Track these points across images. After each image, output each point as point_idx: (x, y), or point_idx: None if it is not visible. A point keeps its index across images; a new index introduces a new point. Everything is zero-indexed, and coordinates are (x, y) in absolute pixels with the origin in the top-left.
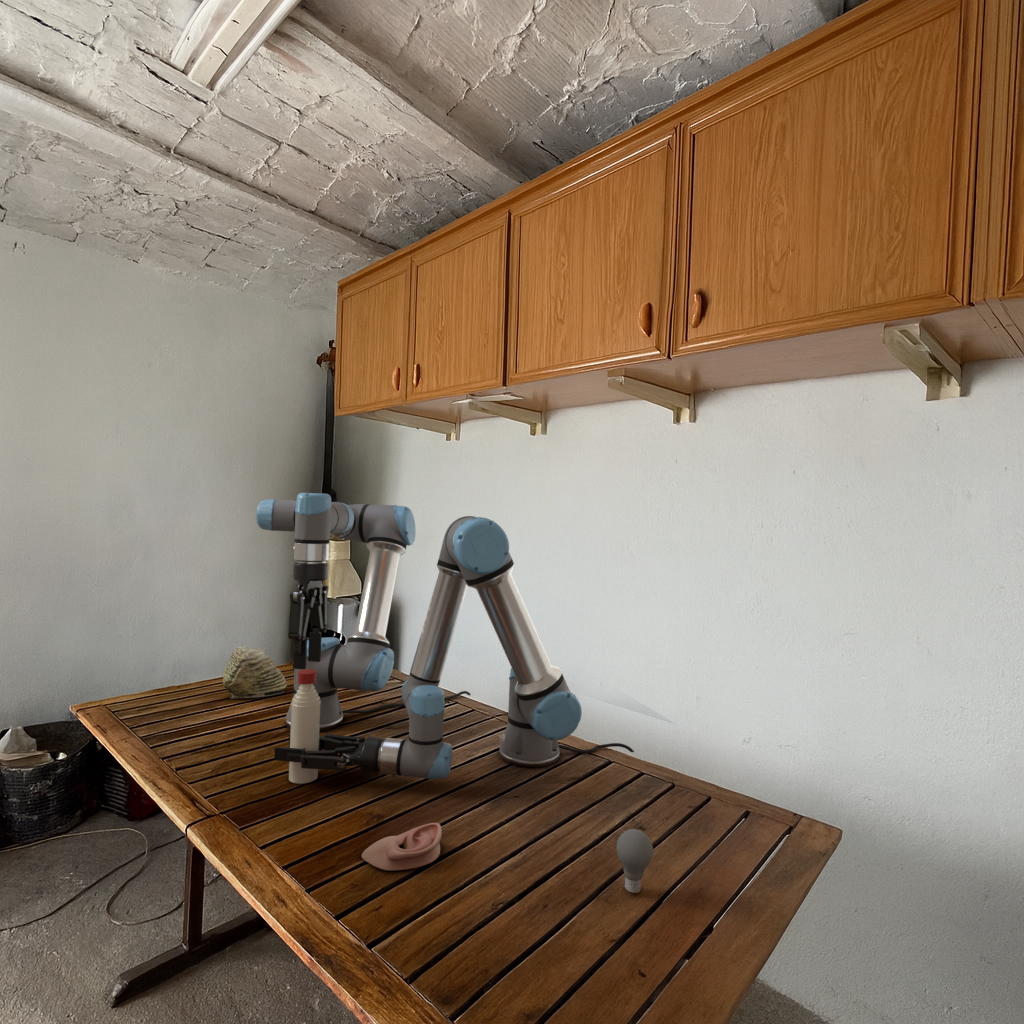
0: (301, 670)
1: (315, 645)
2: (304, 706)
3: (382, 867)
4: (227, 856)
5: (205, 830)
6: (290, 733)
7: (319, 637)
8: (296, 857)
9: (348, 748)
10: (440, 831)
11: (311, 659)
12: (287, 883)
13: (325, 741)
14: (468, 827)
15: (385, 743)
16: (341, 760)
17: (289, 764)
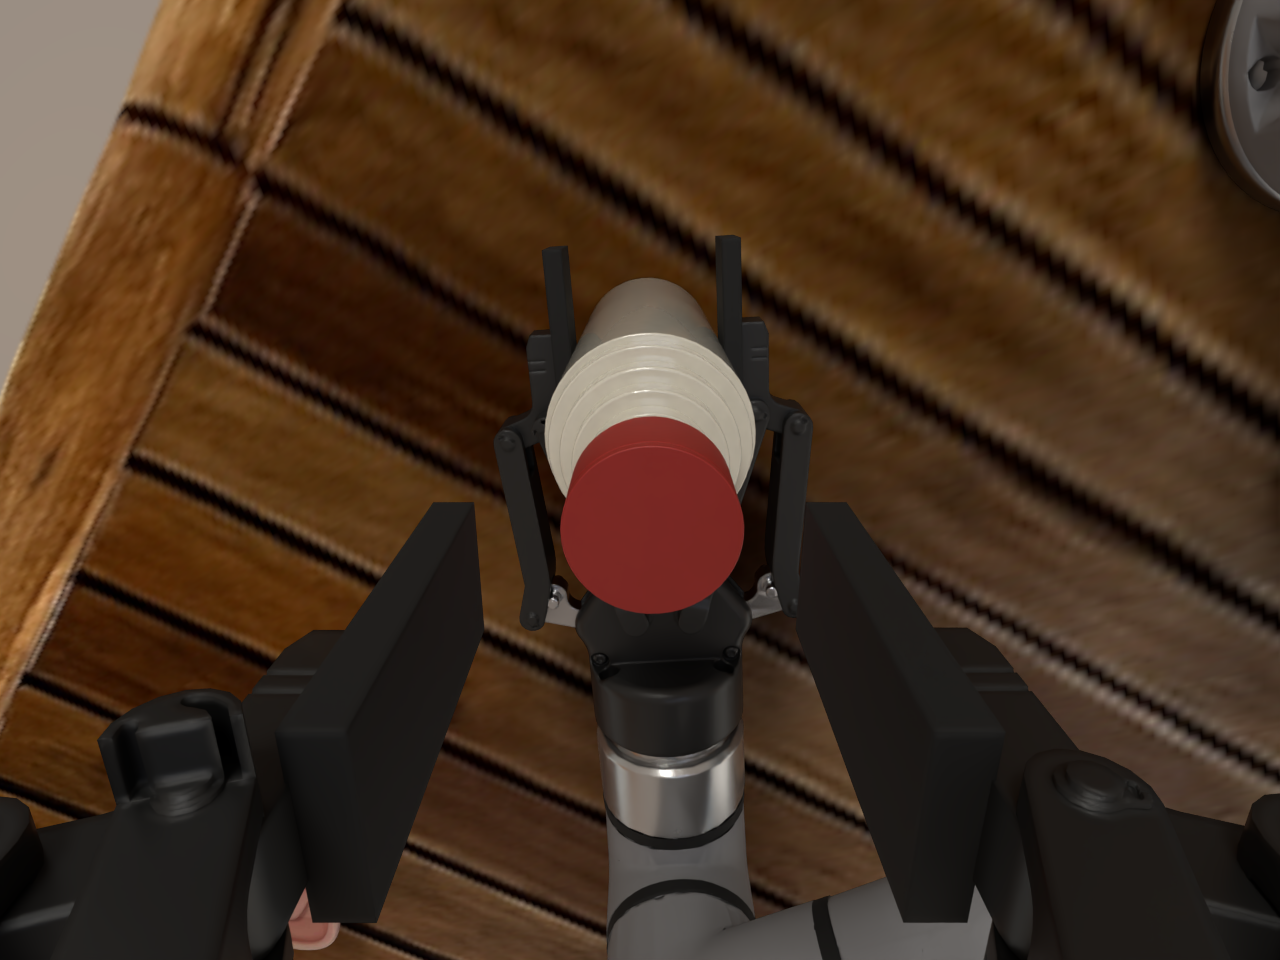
0: (677, 458)
1: (849, 701)
2: (553, 474)
3: None
4: (39, 386)
5: (127, 203)
6: (597, 321)
7: (879, 854)
8: (137, 584)
9: (617, 614)
10: (302, 949)
11: (808, 552)
12: (24, 618)
13: None
14: (473, 931)
15: (640, 781)
16: (520, 615)
17: (603, 301)
